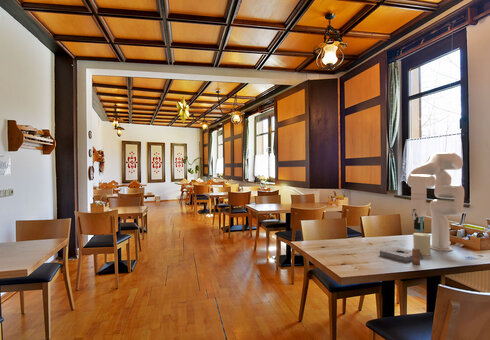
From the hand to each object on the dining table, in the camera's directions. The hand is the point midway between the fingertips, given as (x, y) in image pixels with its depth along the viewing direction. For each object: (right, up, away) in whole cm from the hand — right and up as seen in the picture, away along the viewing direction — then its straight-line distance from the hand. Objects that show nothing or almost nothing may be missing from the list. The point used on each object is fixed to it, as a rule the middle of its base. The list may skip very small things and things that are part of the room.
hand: (419, 228), depth 165 cm
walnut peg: (-7, -17, -8) cm, 20 cm away
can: (+9, -18, +12) cm, 23 cm away
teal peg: (0, -1, 0) cm, 1 cm away
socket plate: (-8, -17, +5) cm, 20 cm away
